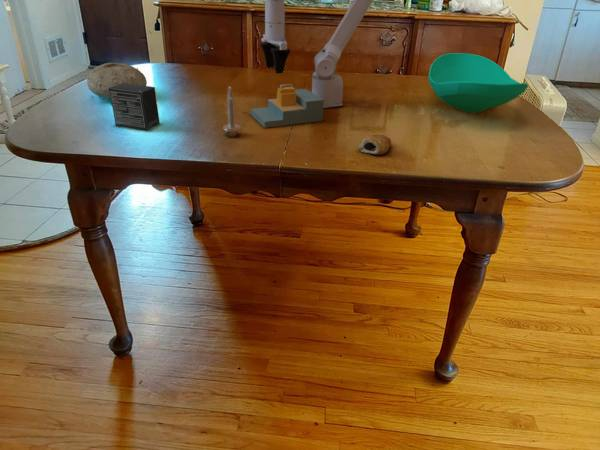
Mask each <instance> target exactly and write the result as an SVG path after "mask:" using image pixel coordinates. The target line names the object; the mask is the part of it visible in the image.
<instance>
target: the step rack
mask: <svg viewBox="0 0 600 450" xmlns="http://www.w3.org/2000/svg"><path fill="white" fill-rule="evenodd" d="M295 93H296V105H289V106H280V105H279V104H278V103H277V97H276V98H268V99H267V106H264V107H255V108H250V115H251V116H252V118H254V120H256V121H257V122H258V123H259V124H260V126H262V127H263V128H264V129H268V128H276V127H284V126H291V125H299V124H300V125H301V124H307V123H315V122H323V119H324V117H323V116H324V108H323V101H324V100H323V99H321V98H320V97H318V96H317V95H315V94H314V93H312V91H311V90H309V89H308V88H299V89H295Z"/></svg>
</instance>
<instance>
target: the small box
mask: <svg viewBox="0 0 600 450" xmlns="http://www.w3.org/2000/svg"><path fill="white" fill-rule="evenodd" d="M109 92H110V97H111V98H110V101H111V107H112V112H113V117H114V118H113V119H114V123H115V126H116V127H119V128H127V129H134V130H139V131H146V132H147V131H149V130H152V129H153V128H155V127H158V126H159V125H160V124H161V123H160V122H161V121H160V115H159V107H158V101H157V94H156V87H155V86H150V85H146V86H142V85H134V84H126V83H122V84H119V85H116V86H113V87H110V88H109Z"/></svg>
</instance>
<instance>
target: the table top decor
mask: <svg viewBox="0 0 600 450" xmlns="http://www.w3.org/2000/svg"><path fill="white" fill-rule="evenodd" d="M428 82H429V83H428V84H429V85H430V87H431V88H432V91H433V93H434V94H435V95H436V96H437V97H438V99H439V100H440V101H441V102H443V103H445V104H447V105H448V106H449V107H452V108H454V109H456V110H458V111H460V112H465V113H477V114H478V113H482V112H484V111H486V110H489V109H493V108H497V107H499V106H503V105H506V104H508V103H509V102H511V101H513V100H515V99H517V98H518V97H520V96H521V95H522V94H523V93H525V91H526V90H527V88H528V87H529V84H528V83H524V82H521V83H520V82H519V81H517V80H515V79H514V78H512V77H511V76H510V75H509V74H508V73H507V71H506V70H505V69H504V68H503V67H501V66H500V65H499V64H498V63H496V62H495V61H493V60H491V59H489V58H487V57H485V56H482V55H478V54H473V53H467V52H466V53H463V52H450V53H443V54H441V55H440V56H438V57H437V58H436V59H434V61H433V62H432V63H431V65H430V66H429V72H428Z"/></svg>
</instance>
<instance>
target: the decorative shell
mask: <svg viewBox="0 0 600 450" xmlns="http://www.w3.org/2000/svg"><path fill="white" fill-rule="evenodd" d="M122 83H126V84H134V85H142V86H147V85H148V84H147V83H148V82H147V77H146V76H145V74H144V73H143V72H142V71H140V69H139V68H138V67H137V68H136V67H134V66H133V65H130V64H127V63H124V62H122V63H120V62H113V61H111V62H106V63H103V64H100V65H98V66H95V67H94V68H93V69H91V70H89V73H88V75H87V77H86V85H87V88H88V90H89V91H90V92H91V93H92V94H94V95H96V96H97V97H100V98H103V99H111V97H110V92H109V88H110V87H113V86H116V85H119V84H122Z"/></svg>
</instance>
